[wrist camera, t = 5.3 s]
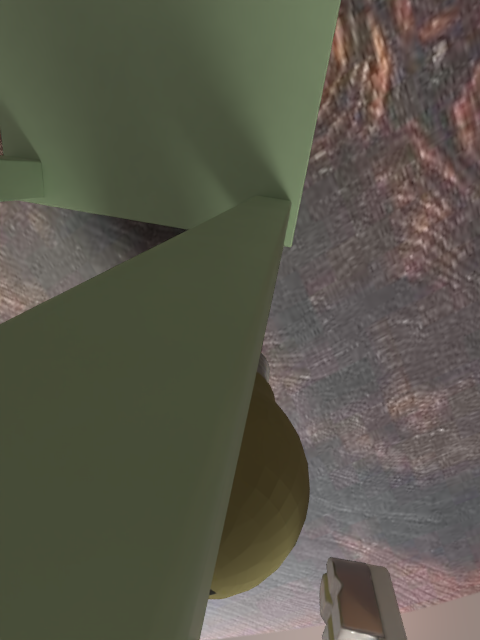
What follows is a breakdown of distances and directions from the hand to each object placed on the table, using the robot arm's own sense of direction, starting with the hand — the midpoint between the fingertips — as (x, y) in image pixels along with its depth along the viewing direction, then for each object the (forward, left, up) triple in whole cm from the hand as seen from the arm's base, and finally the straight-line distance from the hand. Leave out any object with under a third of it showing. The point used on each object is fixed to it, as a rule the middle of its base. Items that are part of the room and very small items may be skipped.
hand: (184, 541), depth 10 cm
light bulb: (0, -1, -9) cm, 9 cm away
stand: (+5, -13, -8) cm, 16 cm away
